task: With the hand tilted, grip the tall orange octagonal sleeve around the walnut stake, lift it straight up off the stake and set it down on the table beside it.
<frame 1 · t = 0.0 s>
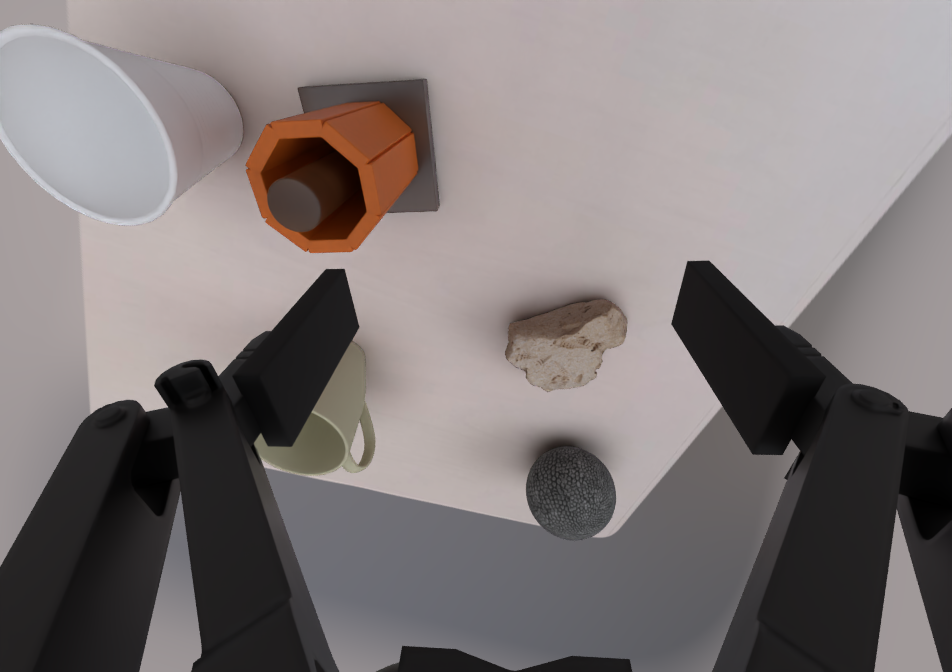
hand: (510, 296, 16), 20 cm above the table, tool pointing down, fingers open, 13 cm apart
orange octagonal sleeve: (372, 153, 30), point 1 cm above the table, touching stake
cup: (207, 115, 31), on the table
mug: (352, 360, 44), on the table
stake: (377, 150, 32), on the table
stone: (557, 328, 40), on the table
decorative ball: (564, 455, 51), on the table
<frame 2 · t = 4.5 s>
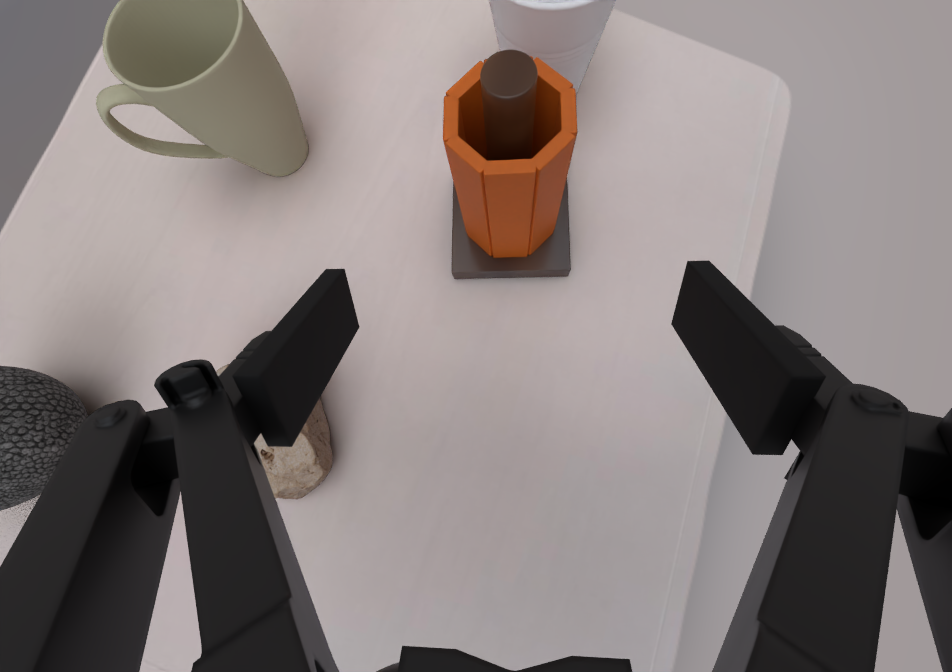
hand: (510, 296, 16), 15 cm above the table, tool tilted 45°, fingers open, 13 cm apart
orange octagonal sleeve: (509, 216, 31), point 1 cm above the table, touching stake
cup: (542, 86, 35), on the table
mug: (274, 161, 36), on the table
stake: (509, 225, 33), on the table
stone: (294, 411, 32), on the table
decorative ball: (69, 434, 33), on the table
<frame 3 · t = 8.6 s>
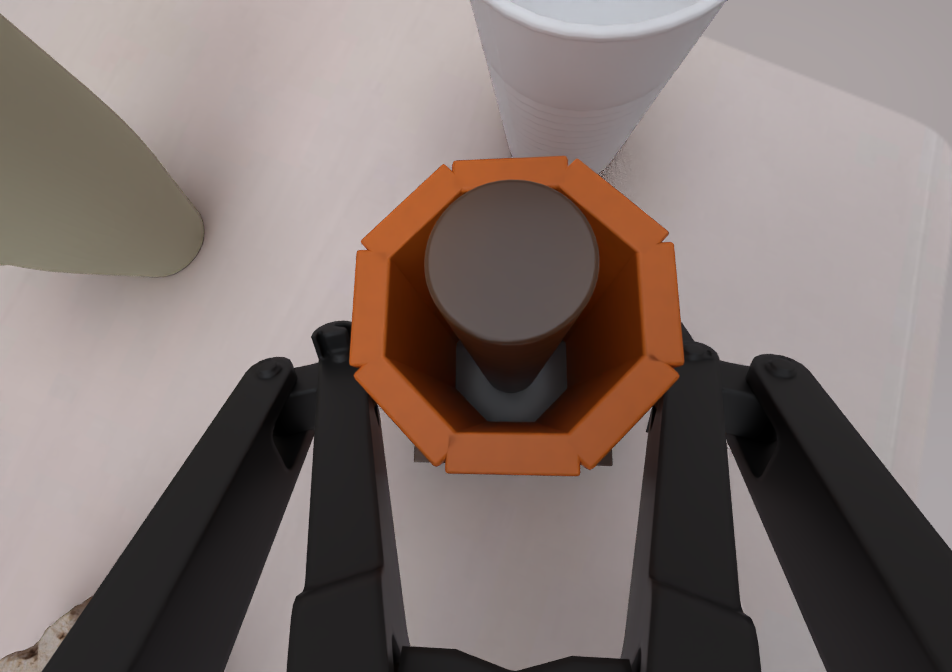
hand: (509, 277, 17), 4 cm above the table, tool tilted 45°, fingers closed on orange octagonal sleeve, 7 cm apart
orange octagonal sleeve: (510, 365, 19), point 2 cm above the table, touching gripper, stake
cup: (561, 141, 23), on the table
mug: (153, 251, 24), on the table
stake: (510, 368, 21), on the table
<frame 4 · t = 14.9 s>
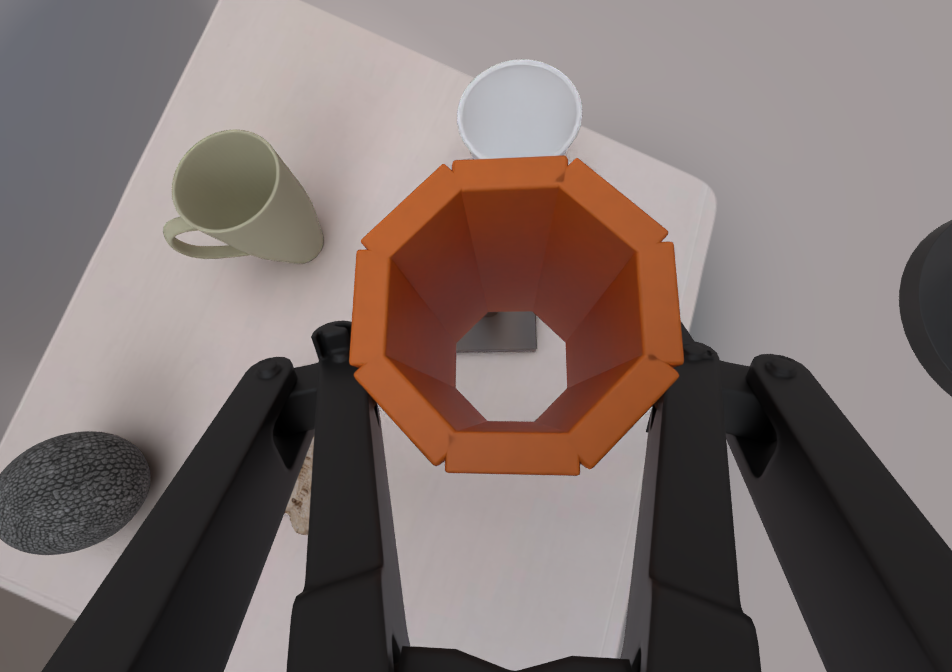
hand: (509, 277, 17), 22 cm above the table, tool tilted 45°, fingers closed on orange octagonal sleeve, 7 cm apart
orange octagonal sleeve: (510, 365, 19), point 20 cm above the table, touching gripper
cup: (516, 189, 43), on the table
mug: (295, 249, 44), on the table
stake: (489, 307, 40), on the table
stone: (315, 461, 39), on the table
decorative ball: (131, 480, 40), on the table
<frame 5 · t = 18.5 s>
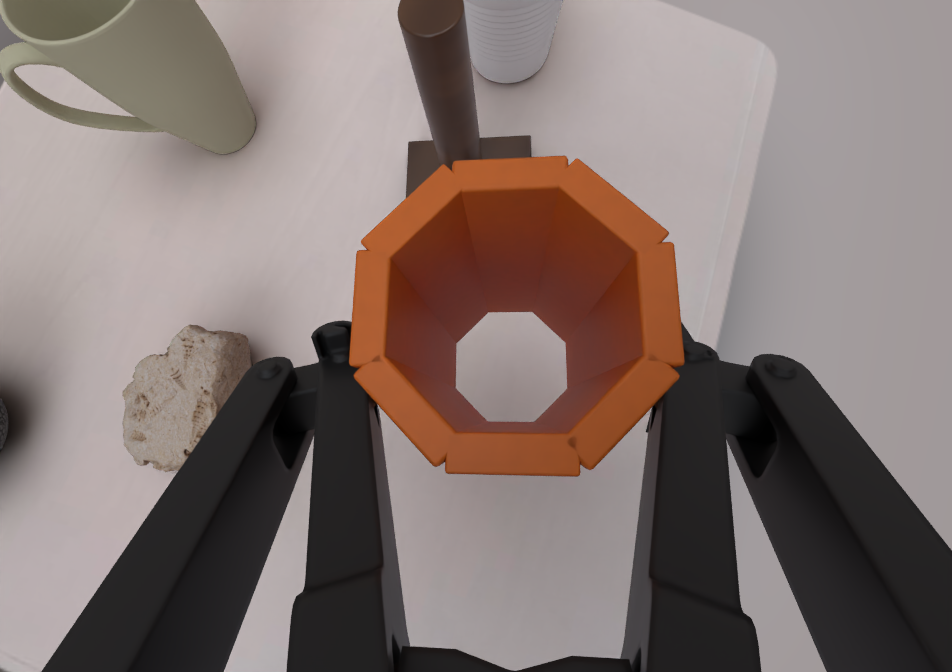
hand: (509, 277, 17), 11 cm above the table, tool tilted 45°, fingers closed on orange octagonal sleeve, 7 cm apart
orange octagonal sleeve: (510, 365, 19), point 9 cm above the table, touching gripper
cup: (509, 56, 32), on the table
mug: (219, 137, 33), on the table
stake: (470, 205, 30), on the table
stone: (232, 407, 29), on the table
when the fingers open (2 cm above the table, at t = 21.2 s): orange octagonal sleeve stays where it is, on the table.
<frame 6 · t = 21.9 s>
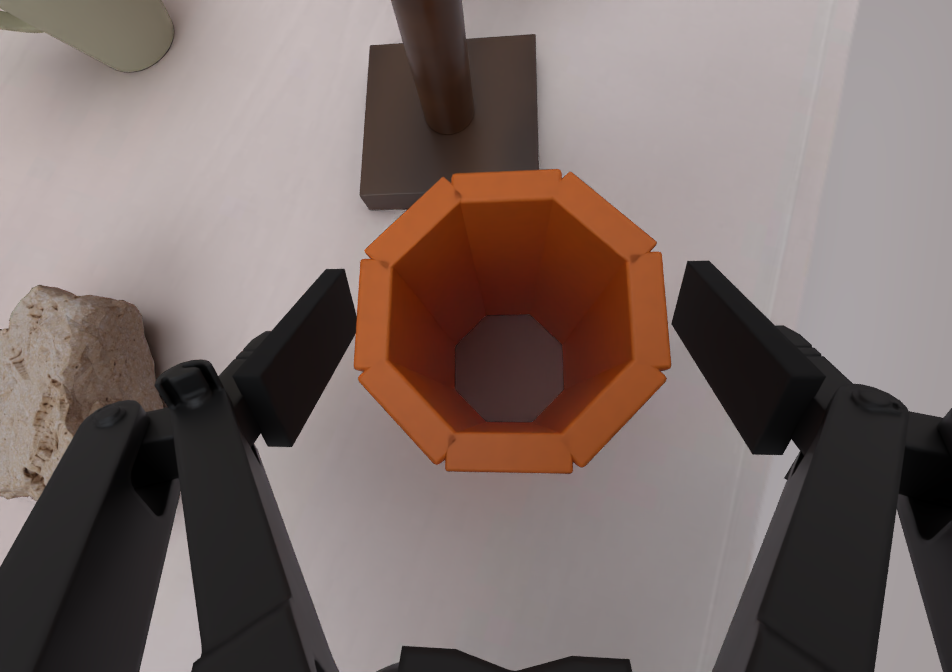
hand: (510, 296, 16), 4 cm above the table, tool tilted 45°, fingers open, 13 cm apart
orange octagonal sleeve: (508, 367, 20), on the table
mug: (127, 52, 26), on the table
stake: (453, 132, 22), on the table
stone: (124, 405, 21), on the table
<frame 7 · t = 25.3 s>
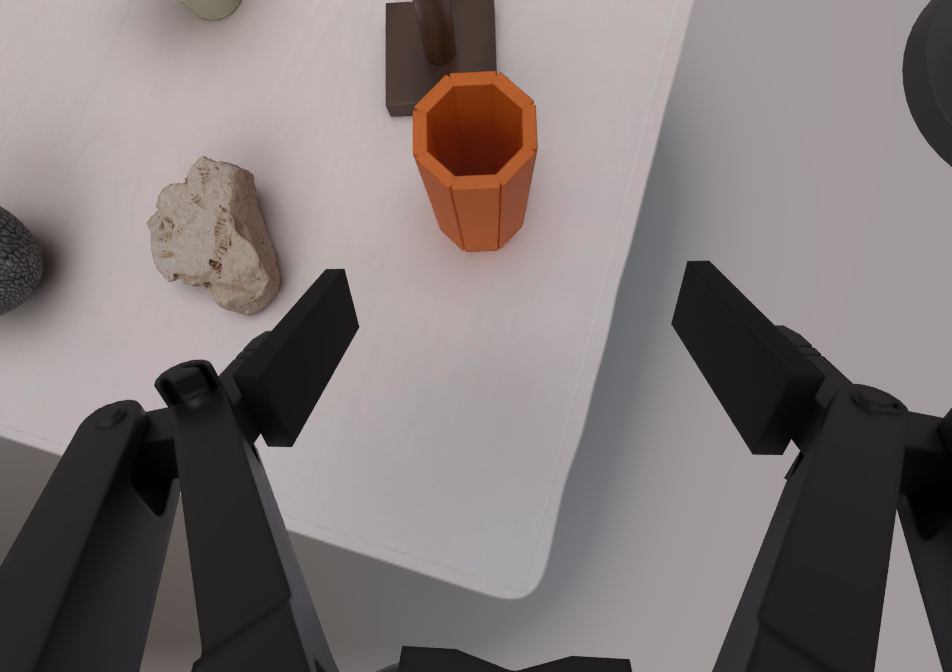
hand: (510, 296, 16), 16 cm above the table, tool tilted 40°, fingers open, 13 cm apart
orange octagonal sleeve: (480, 210, 33), on the table
mug: (207, 5, 36), on the table
stake: (442, 64, 34), on the table
stone: (243, 243, 34), on the table
decorative ball: (24, 274, 34), on the table
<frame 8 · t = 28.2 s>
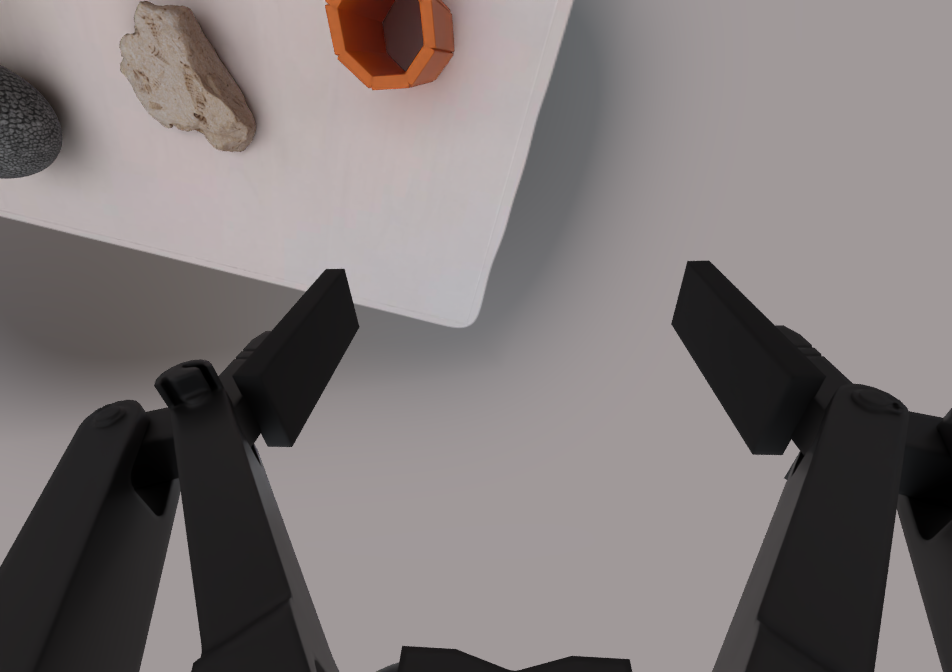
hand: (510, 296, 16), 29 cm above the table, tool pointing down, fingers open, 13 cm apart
orange octagonal sleeve: (414, 35, 35), on the table
stone: (207, 77, 38), on the table
decorative ball: (38, 112, 40), on the table
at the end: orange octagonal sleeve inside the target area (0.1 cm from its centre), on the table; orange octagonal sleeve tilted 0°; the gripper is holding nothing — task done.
